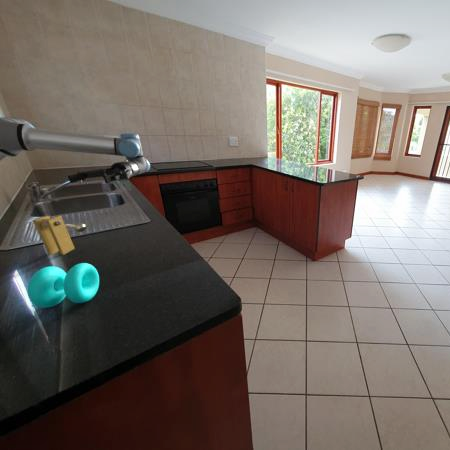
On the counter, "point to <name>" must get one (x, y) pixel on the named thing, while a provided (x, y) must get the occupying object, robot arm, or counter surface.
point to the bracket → (54, 235)
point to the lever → (77, 227)
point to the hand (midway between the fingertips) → (87, 179)
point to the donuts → (63, 285)
